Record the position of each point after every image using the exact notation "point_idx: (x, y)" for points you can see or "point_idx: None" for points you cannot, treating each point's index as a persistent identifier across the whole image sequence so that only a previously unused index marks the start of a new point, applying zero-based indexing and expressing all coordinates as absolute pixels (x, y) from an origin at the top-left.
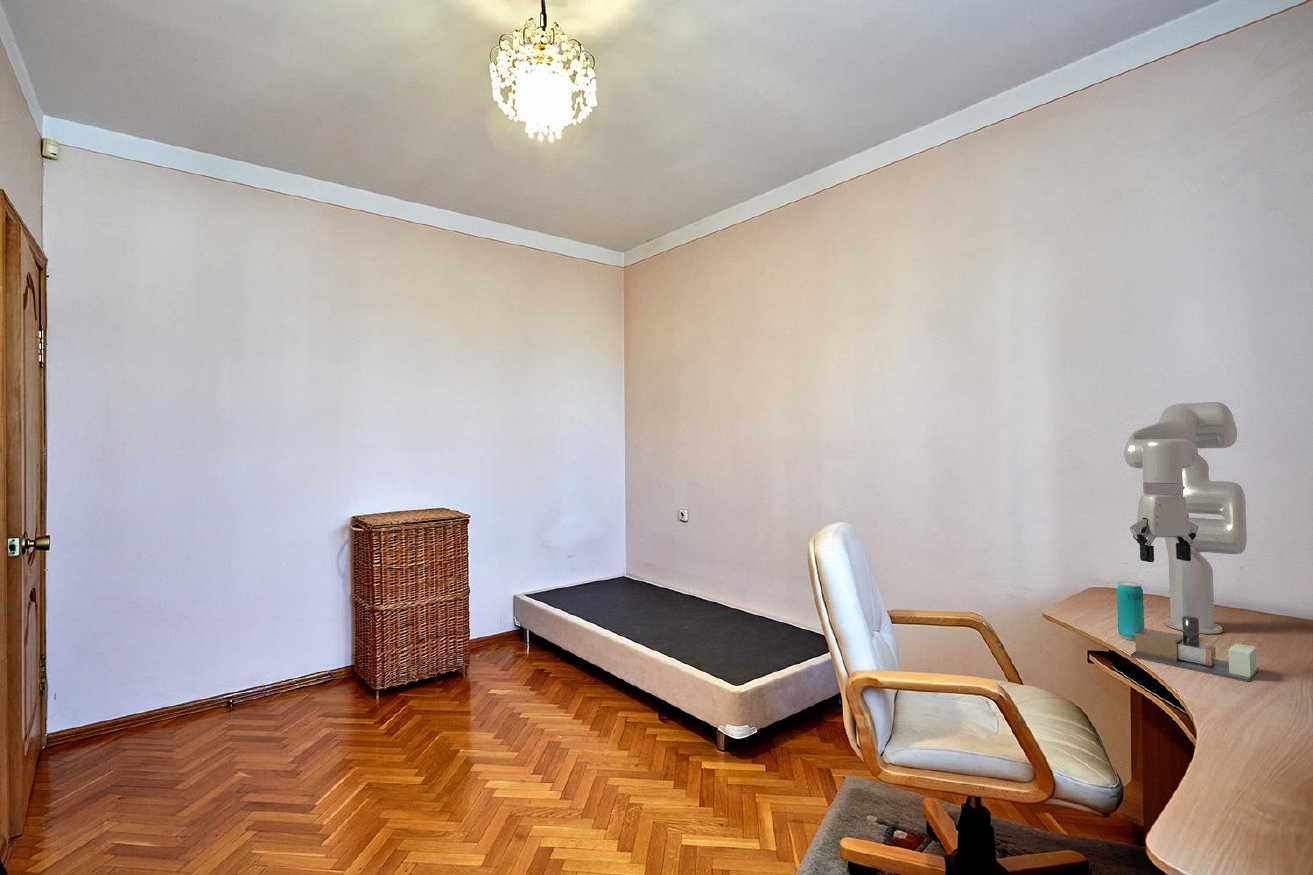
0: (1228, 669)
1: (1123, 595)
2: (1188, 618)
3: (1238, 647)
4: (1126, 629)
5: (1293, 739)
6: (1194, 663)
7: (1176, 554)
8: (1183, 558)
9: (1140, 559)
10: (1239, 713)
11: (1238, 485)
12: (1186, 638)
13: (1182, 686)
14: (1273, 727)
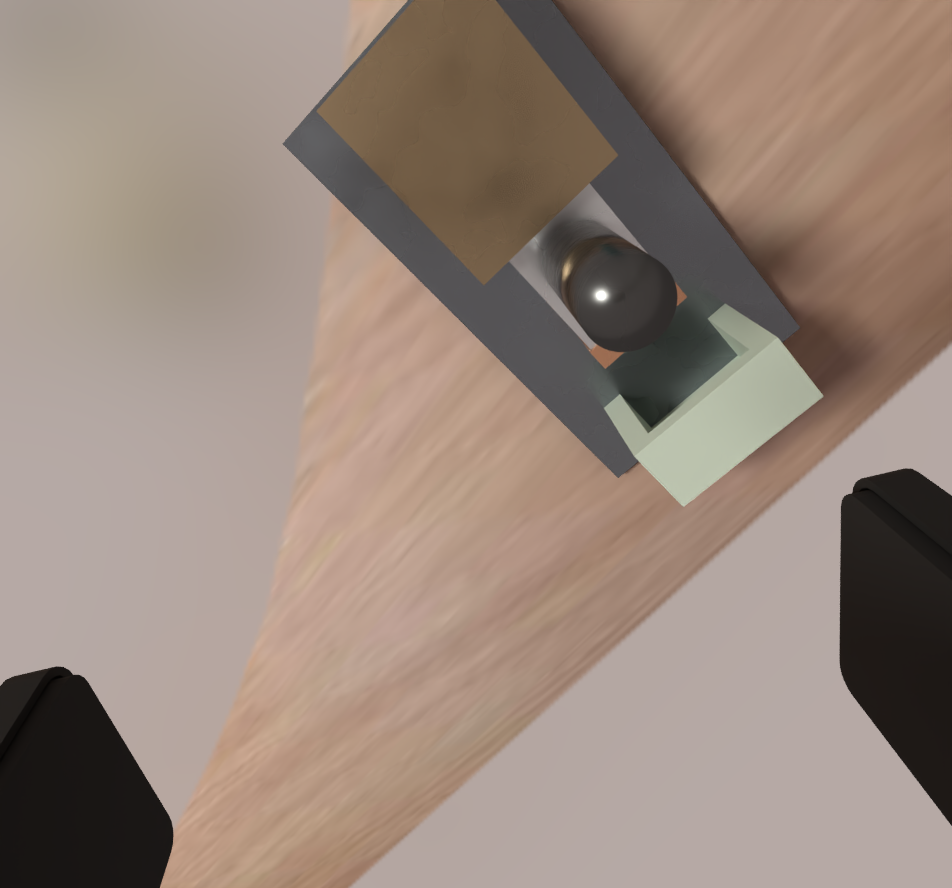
0: (638, 363)
1: None
2: (597, 326)
3: (725, 410)
4: None
5: (369, 851)
6: None
7: (897, 542)
8: (854, 635)
9: (9, 683)
10: (346, 734)
11: None
12: (552, 285)
13: (306, 543)
14: (373, 801)
